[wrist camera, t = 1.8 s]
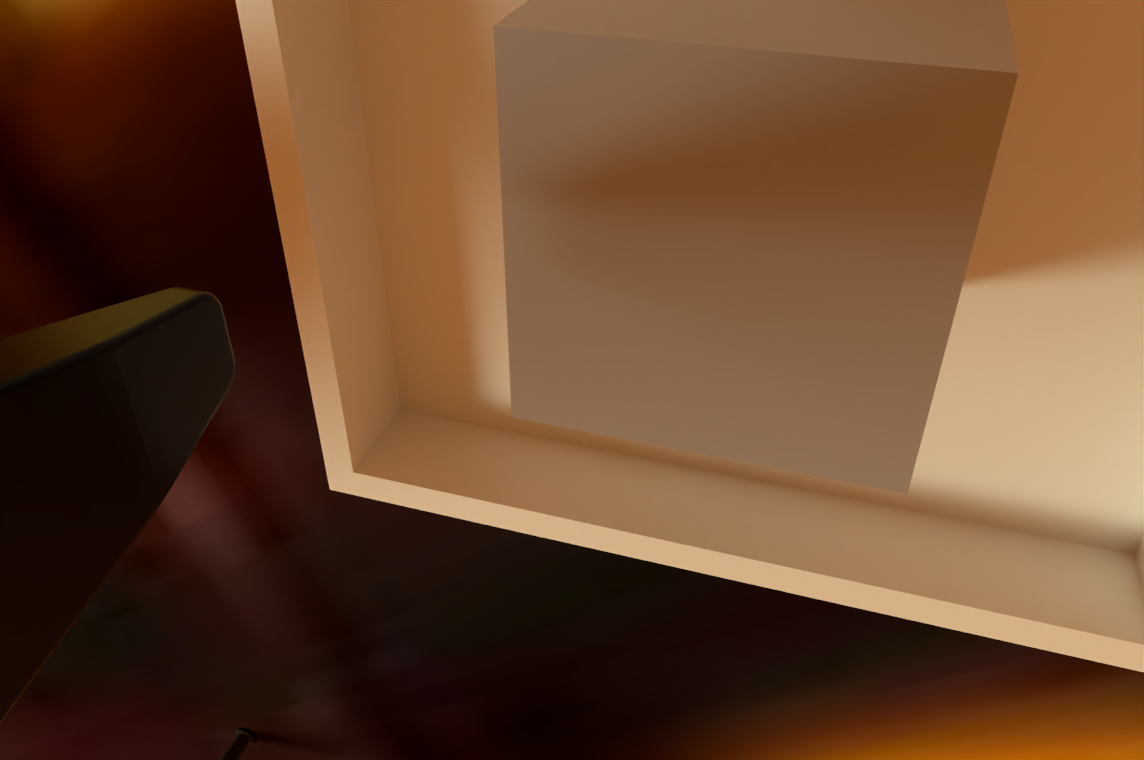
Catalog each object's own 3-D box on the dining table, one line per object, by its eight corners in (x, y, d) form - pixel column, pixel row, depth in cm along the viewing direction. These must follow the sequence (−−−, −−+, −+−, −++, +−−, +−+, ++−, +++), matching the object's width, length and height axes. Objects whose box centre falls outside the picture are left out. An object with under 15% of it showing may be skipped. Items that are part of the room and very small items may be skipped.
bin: (386, 415, 21) (330, 489, 19) (253, -534, 12) (123, -576, 10) (1157, 570, 17) (1183, 681, 16) (1748, -632, 9) (1979, -725, 7)
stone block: (613, 246, 17) (511, 416, 13) (621, -71, 14) (493, 26, 10) (918, 290, 15) (907, 493, 12) (996, -47, 13) (1018, 72, 9)
